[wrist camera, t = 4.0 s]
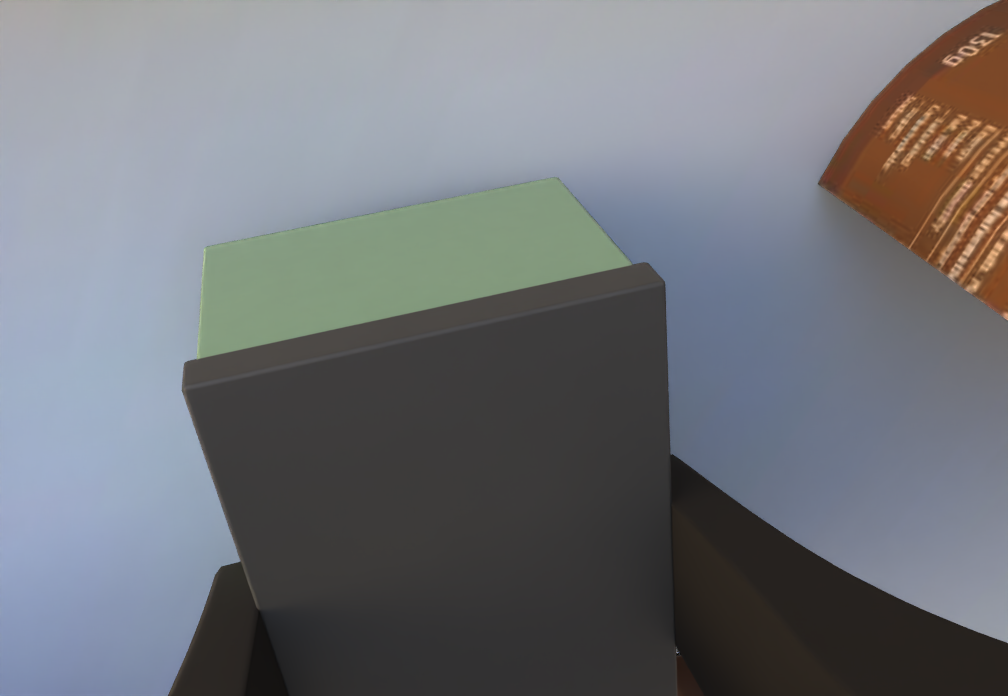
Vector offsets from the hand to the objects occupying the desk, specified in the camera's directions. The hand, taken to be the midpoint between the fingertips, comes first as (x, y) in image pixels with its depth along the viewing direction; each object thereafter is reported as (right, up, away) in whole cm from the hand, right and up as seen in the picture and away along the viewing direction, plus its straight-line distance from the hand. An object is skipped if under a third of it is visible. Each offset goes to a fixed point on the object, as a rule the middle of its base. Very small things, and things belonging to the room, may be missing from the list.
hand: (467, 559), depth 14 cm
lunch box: (-1, +1, +2) cm, 3 cm away
